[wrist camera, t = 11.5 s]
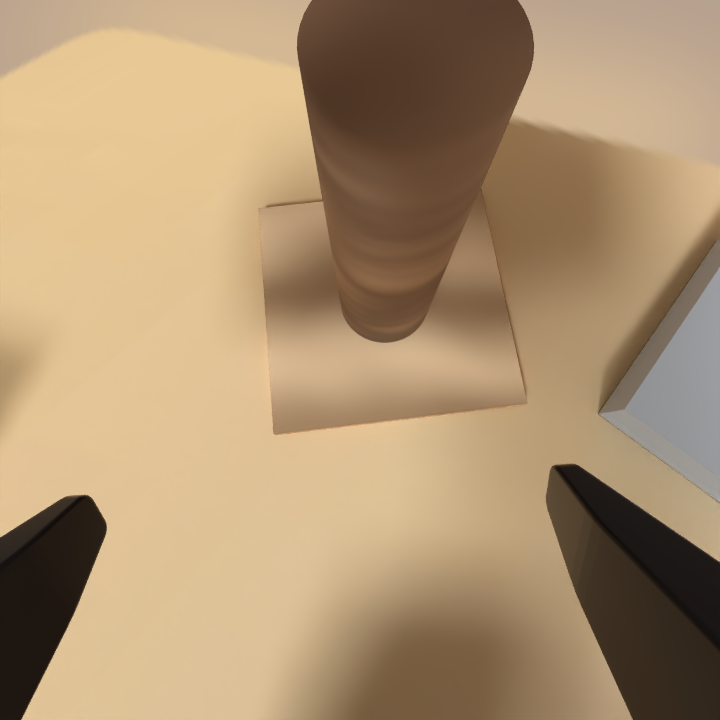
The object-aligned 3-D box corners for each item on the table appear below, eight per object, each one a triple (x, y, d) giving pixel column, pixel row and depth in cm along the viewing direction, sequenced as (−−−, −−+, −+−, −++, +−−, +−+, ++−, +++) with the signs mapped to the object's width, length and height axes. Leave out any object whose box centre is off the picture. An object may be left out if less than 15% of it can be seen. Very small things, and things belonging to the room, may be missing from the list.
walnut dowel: (446, 303, 20) (584, 45, 7) (381, 360, 19) (409, 185, 7) (387, 244, 21) (418, -81, 8) (323, 297, 20) (249, 35, 8)
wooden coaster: (522, 405, 19) (527, 403, 19) (276, 434, 19) (273, 434, 19) (476, 190, 22) (479, 183, 22) (261, 214, 22) (258, 208, 21)
